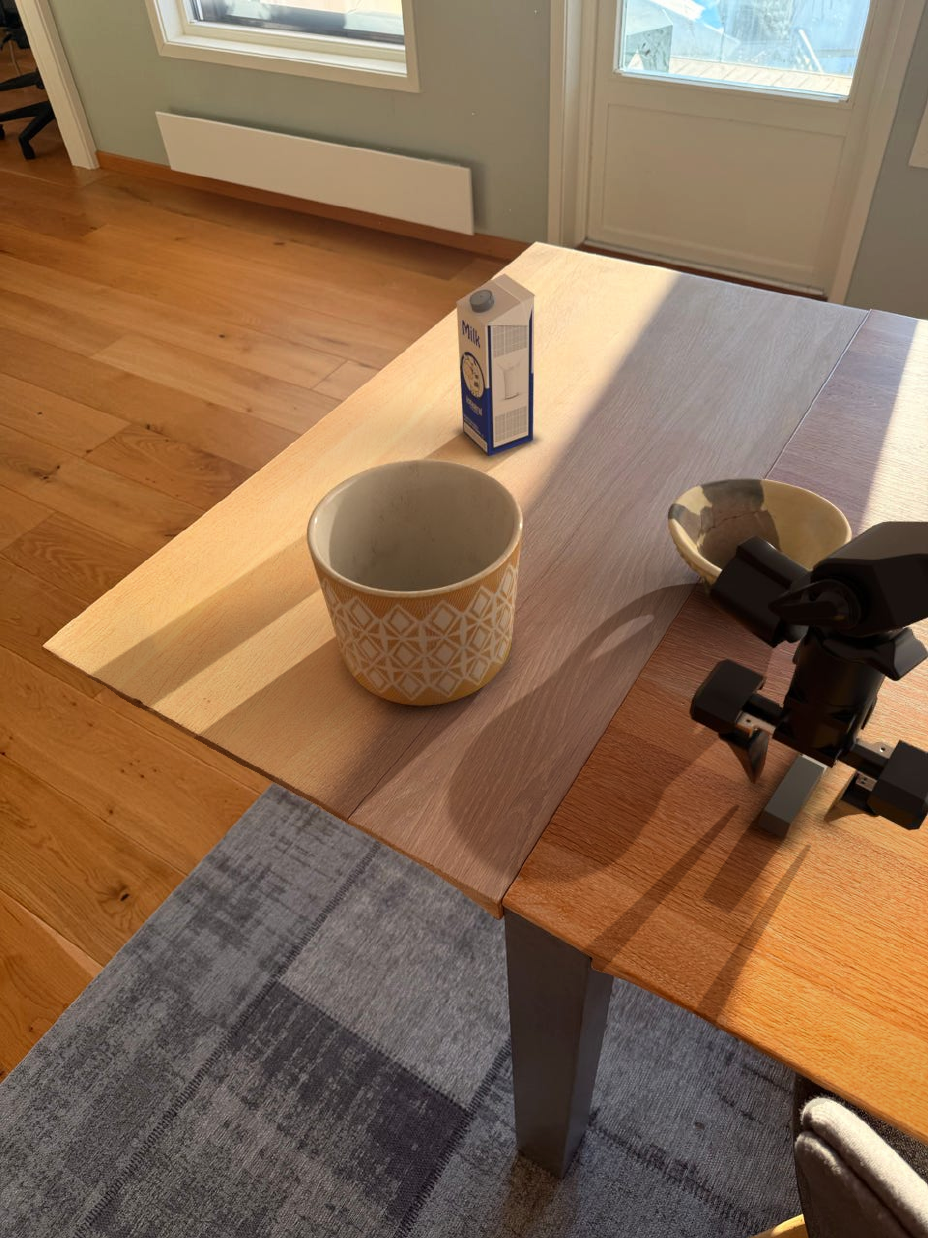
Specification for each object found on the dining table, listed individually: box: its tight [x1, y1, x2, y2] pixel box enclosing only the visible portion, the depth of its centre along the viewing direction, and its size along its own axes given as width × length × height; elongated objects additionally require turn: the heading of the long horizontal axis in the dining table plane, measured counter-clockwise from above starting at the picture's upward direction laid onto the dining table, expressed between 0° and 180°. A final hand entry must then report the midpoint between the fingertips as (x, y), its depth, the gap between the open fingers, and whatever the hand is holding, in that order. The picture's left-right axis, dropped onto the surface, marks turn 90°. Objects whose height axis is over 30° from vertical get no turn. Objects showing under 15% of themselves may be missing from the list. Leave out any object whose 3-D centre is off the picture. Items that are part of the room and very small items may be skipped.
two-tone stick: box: [757, 754, 829, 841], centre depth 79 cm, size 17×2×2 cm, turn 142°
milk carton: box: [455, 273, 536, 457], centre depth 112 cm, size 7×7×20 cm
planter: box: [306, 459, 524, 707], centre depth 87 cm, size 19×19×16 cm
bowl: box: [667, 477, 853, 597], centre depth 93 cm, size 18×18×10 cm
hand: (790, 798), depth 77 cm, fingers open, 6 cm apart
